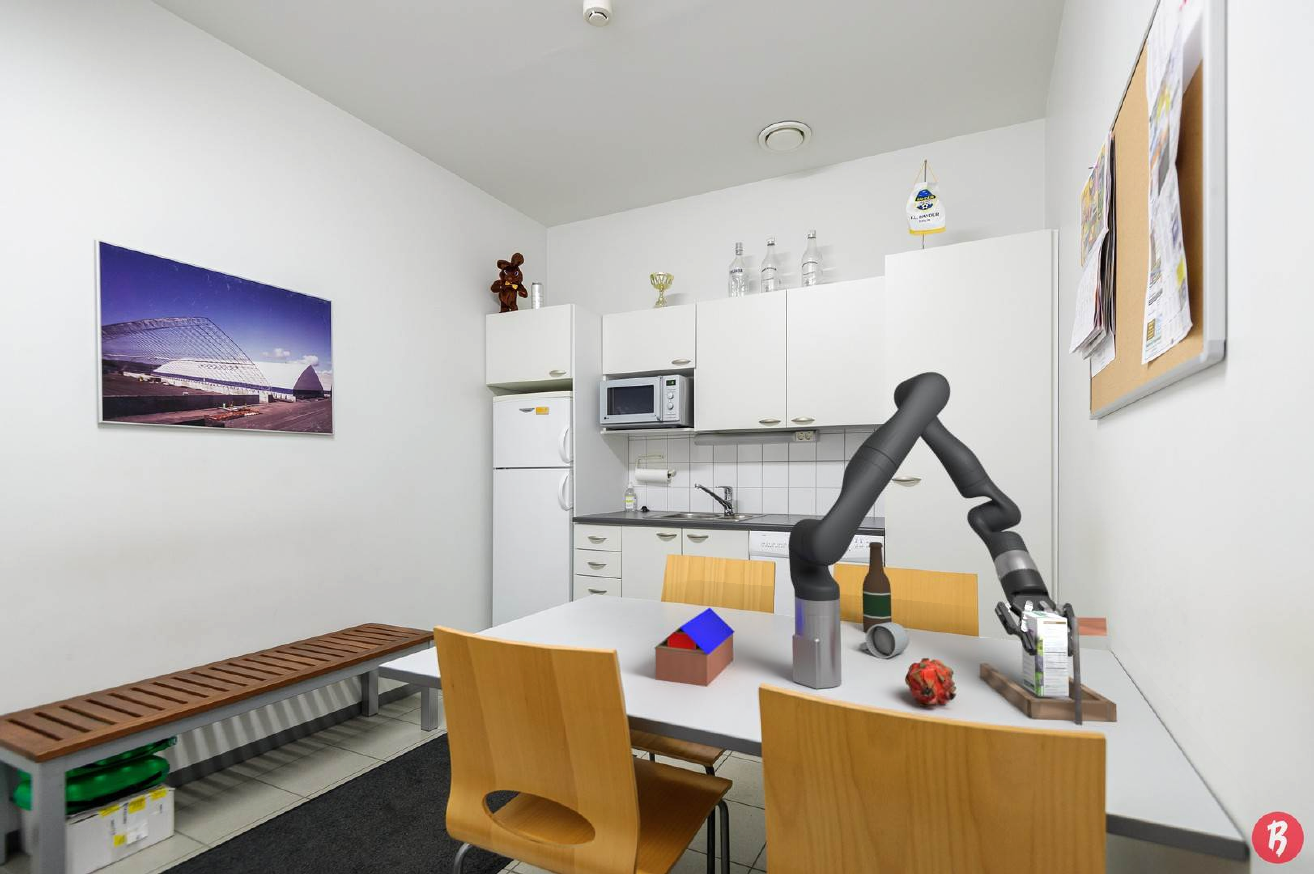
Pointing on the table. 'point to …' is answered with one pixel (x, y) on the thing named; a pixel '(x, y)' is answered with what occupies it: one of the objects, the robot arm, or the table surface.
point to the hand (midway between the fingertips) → (1052, 653)
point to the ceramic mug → (886, 640)
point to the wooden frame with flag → (1085, 700)
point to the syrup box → (1047, 655)
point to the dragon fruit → (931, 682)
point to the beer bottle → (876, 591)
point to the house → (695, 651)
